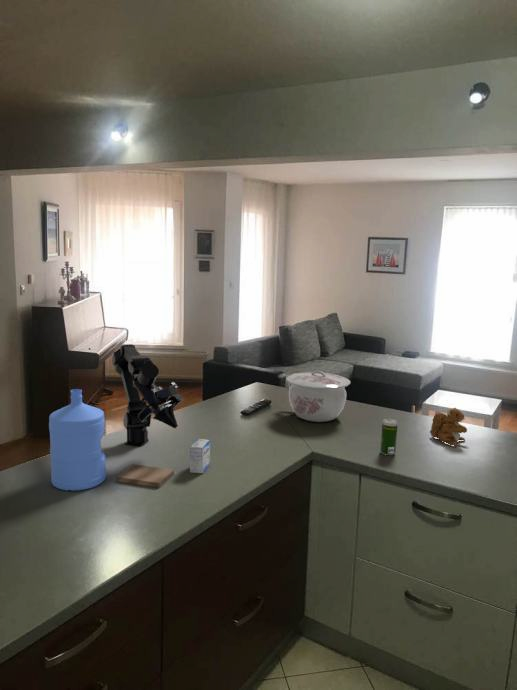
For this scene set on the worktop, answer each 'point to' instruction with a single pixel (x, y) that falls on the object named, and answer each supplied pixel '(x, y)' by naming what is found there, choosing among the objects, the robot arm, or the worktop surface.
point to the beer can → (388, 437)
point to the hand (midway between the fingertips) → (176, 427)
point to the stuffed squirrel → (448, 426)
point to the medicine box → (200, 456)
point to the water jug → (77, 445)
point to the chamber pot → (317, 395)
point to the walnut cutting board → (145, 475)
